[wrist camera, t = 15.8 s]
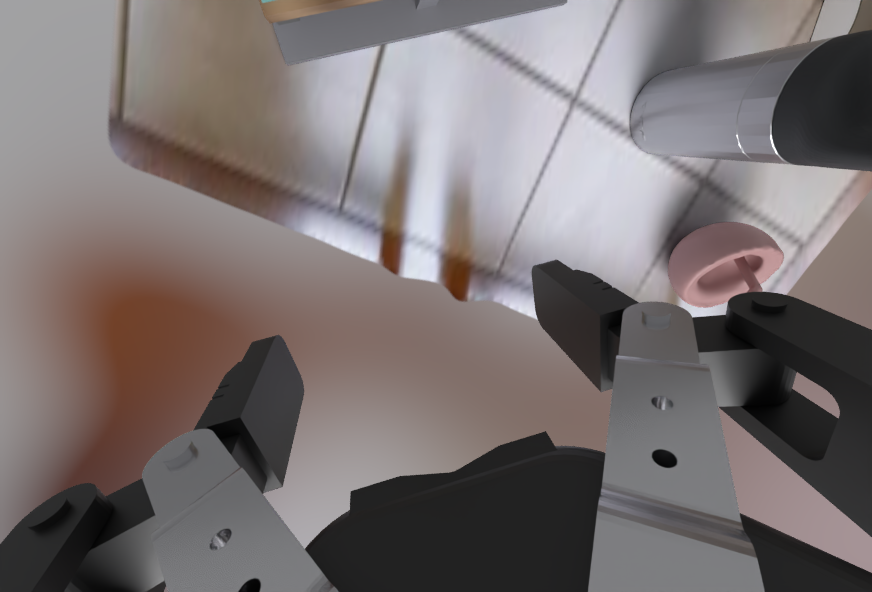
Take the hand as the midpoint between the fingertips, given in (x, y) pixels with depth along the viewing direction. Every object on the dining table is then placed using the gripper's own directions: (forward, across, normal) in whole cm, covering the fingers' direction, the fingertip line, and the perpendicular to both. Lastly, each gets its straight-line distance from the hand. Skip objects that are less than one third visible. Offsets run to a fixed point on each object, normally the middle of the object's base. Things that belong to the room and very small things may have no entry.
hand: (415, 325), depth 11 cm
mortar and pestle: (+34, -41, +20) cm, 57 cm away
